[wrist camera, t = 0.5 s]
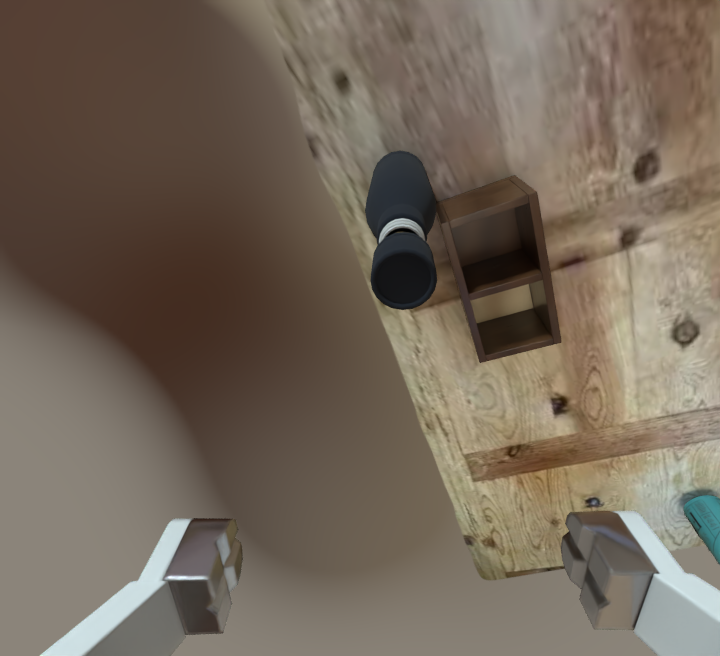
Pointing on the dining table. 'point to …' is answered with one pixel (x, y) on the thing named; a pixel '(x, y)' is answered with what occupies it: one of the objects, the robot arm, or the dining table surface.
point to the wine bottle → (401, 231)
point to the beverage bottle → (706, 521)
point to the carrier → (501, 267)
